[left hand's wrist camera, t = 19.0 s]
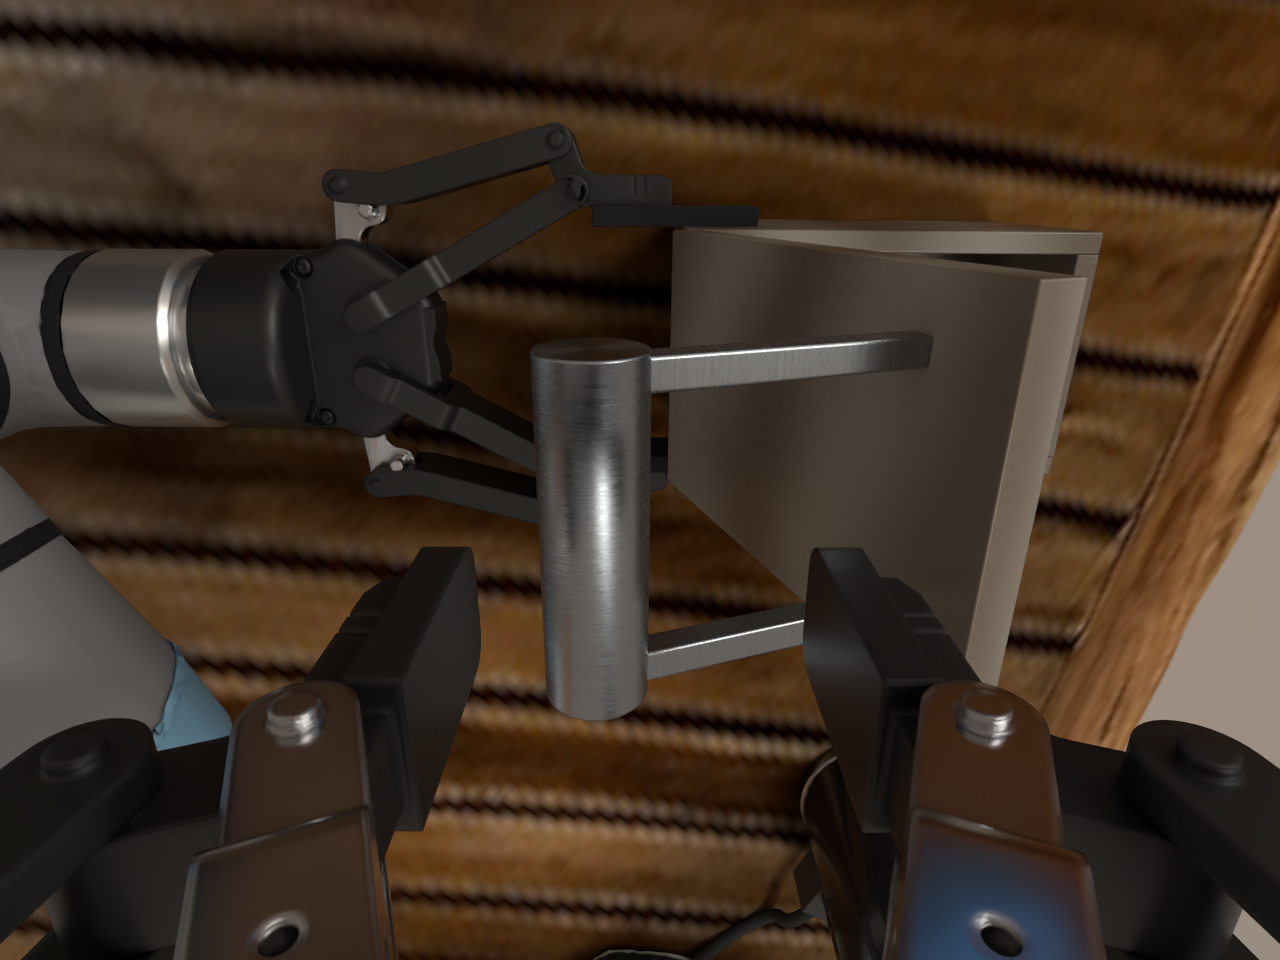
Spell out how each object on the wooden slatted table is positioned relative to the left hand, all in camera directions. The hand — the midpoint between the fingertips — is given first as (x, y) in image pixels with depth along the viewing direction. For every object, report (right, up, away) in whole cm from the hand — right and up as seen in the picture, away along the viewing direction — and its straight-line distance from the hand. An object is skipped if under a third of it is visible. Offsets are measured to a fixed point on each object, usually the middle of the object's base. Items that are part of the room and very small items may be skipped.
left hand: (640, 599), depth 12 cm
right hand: (+5, +8, +20) cm, 22 cm away
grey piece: (+5, +4, +10) cm, 12 cm away
